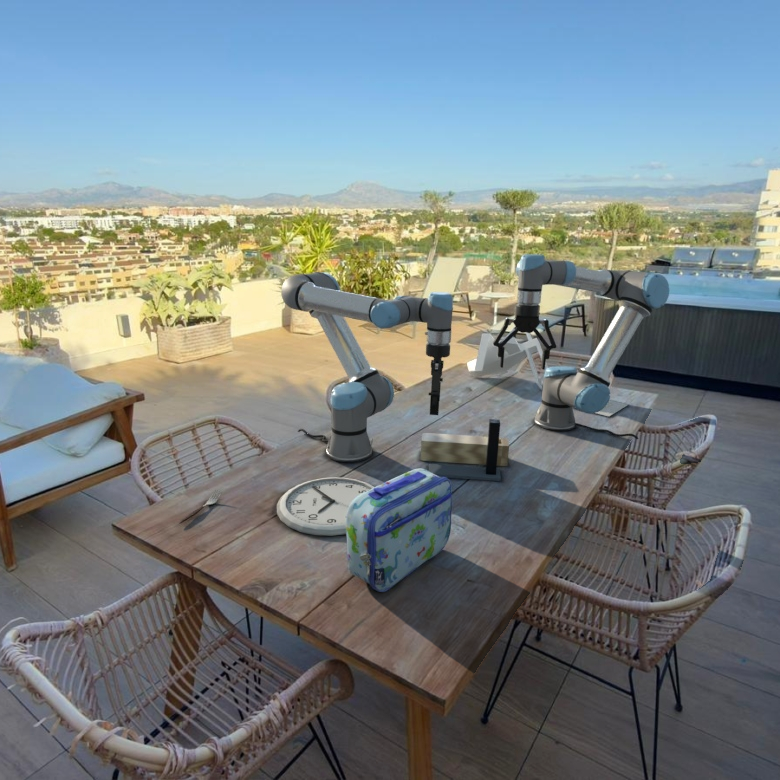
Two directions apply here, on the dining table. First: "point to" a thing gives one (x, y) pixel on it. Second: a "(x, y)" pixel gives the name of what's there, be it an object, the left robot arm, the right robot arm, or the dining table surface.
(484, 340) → the white plastic object
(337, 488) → the wall clock
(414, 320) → the left robot arm
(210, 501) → the fork
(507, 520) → the dining table surface
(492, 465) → the peg
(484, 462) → the wooden block
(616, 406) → the invitation card
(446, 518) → the lunch box
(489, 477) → the mat
